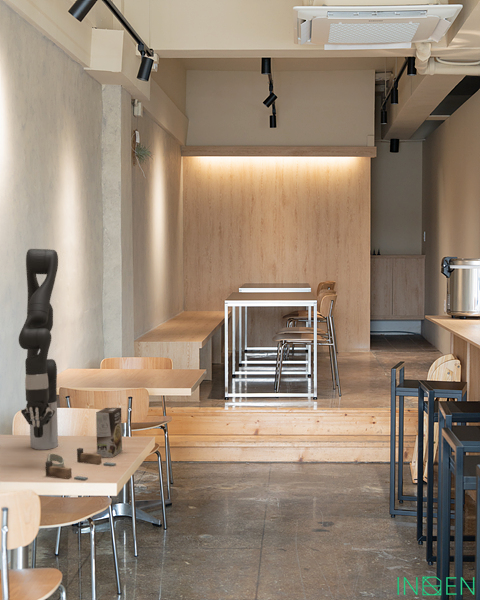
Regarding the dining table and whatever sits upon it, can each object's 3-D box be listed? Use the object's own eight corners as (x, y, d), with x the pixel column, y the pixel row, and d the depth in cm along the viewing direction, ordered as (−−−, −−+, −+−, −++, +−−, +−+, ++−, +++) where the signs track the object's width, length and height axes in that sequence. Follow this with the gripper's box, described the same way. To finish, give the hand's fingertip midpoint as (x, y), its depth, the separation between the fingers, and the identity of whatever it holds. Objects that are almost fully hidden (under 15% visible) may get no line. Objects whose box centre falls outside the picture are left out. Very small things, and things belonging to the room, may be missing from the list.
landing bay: (74, 479, 205) (74, 477, 205) (106, 463, 221) (105, 462, 221) (84, 480, 204) (84, 478, 204) (115, 465, 220) (115, 463, 220)
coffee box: (113, 457, 229) (112, 412, 228) (96, 456, 230) (95, 412, 229) (123, 450, 238) (121, 407, 237) (106, 450, 239) (105, 406, 238)
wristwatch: (46, 464, 222) (45, 450, 222) (65, 463, 224) (64, 449, 223) (45, 472, 213) (44, 457, 213) (64, 471, 215) (64, 456, 215)
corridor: (45, 475, 209) (45, 462, 209) (79, 460, 226) (79, 448, 226) (68, 478, 206) (68, 464, 205) (101, 463, 222) (101, 450, 222)
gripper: (13, 387, 219) (15, 438, 220) (45, 389, 214) (47, 441, 215) (28, 384, 226) (30, 433, 227) (59, 385, 221) (61, 435, 222)
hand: (38, 437), depth 221 cm, fingers closed
